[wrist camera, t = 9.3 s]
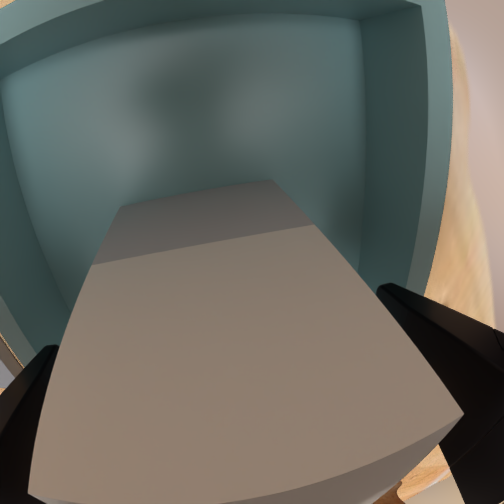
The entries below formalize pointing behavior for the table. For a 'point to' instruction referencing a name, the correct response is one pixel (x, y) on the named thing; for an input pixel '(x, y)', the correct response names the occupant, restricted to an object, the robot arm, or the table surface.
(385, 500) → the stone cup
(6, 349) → the stud base
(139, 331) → the beige rectangular block
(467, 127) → the table surface
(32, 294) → the bin
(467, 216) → the table surface
